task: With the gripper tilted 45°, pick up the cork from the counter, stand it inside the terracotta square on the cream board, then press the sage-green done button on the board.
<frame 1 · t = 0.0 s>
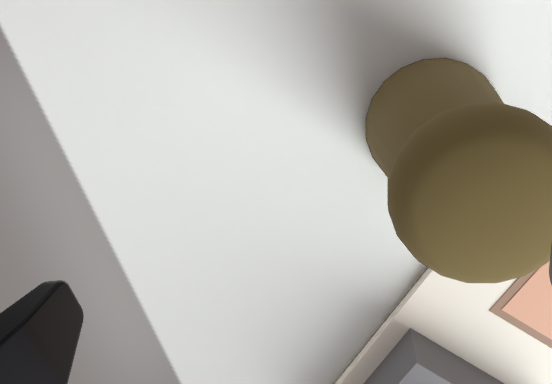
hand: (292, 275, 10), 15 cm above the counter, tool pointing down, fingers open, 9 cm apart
picture board: (507, 349, 27), on the counter
cork: (431, 125, 24), on the counter
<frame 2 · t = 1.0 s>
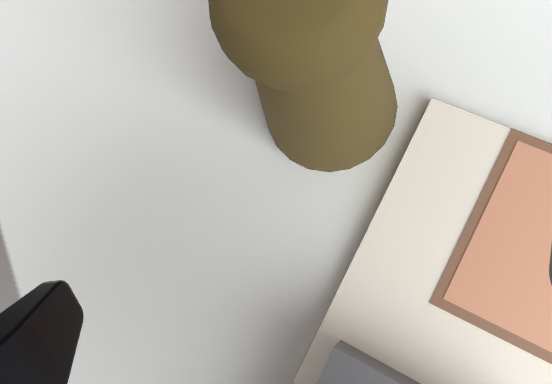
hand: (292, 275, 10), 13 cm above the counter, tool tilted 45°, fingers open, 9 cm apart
picture board: (470, 366, 21), on the counter
cork: (330, 109, 24), on the counter
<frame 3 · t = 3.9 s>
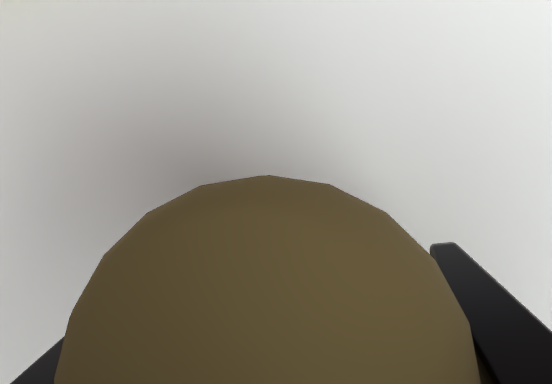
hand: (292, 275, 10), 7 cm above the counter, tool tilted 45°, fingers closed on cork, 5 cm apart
cork: (335, 330, 16), on the counter, touching gripper
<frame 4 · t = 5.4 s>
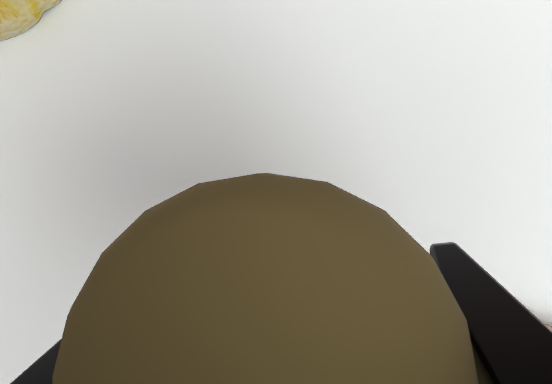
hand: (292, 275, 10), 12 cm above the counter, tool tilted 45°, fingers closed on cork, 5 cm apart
cork: (334, 328, 16), point 5 cm above the counter, touching gripper
when the fingers open (8 cm above the counter, at t = 7.3 s): cork stays where it is, resting on picture board.
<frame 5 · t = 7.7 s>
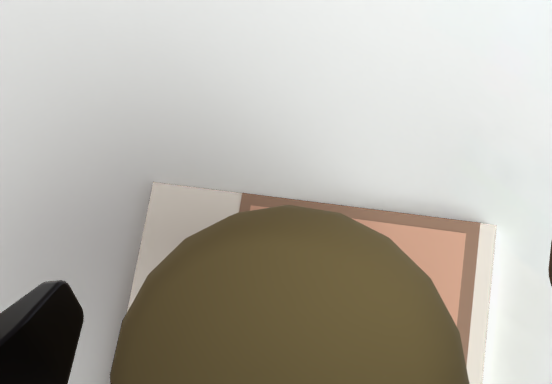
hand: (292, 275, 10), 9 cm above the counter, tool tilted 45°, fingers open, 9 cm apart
cork: (338, 331, 17), point 1 cm above the counter, touching picture board
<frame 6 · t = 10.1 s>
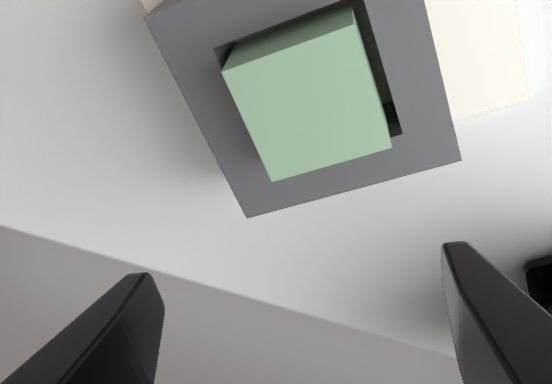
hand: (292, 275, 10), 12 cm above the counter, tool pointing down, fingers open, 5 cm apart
done button: (310, 95, 17), point 4 cm above the counter, slide at 0.0 cm
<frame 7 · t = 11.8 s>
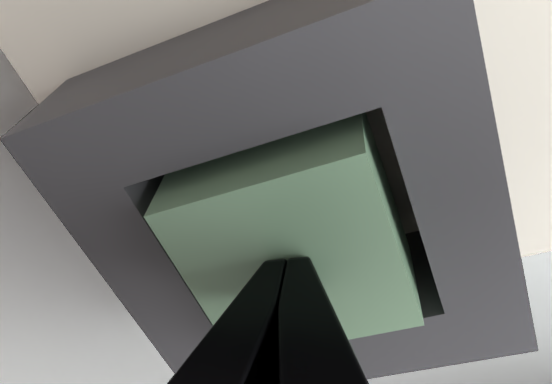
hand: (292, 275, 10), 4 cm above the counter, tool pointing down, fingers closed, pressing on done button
done button: (294, 233, 11), point 3 cm above the counter, slide at 0.9 cm, touching gripper
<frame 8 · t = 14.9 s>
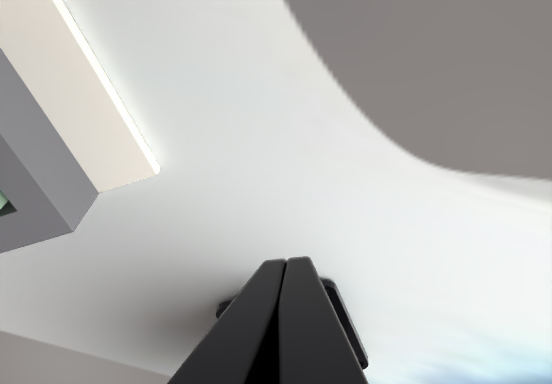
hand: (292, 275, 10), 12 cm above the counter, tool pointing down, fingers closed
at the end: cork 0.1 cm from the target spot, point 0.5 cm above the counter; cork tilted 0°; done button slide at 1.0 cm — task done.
